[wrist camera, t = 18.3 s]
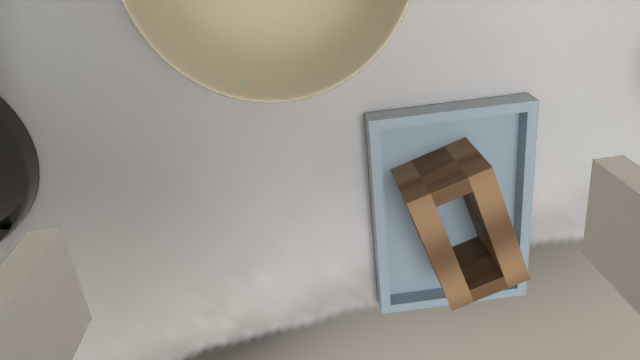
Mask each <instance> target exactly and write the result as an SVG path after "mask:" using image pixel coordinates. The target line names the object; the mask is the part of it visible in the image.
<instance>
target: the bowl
mask: <svg viewBox="0 0 640 360" xmlns="http://www.w3.org/2000/svg"><path fill="white" fill-rule="evenodd" d="M121 1H122V3H123V5H124V7H125V9H126V11H127V13H128V15H129V17H130V19H131V20H132V22H133V24H134V25H135V27H136V29H137V30H138V31H139V33H140V34H141V35H142V37H143V38H144V39H145V40H146V42H147V43H148V44H149V46H150V47H151V48H152V49H153V50H154V51H155V52H156V53H157V54H158V55H159V56H160V57H161V58H162V59H163V60H164V61H165V62H166V63H167V64H169V65H170V66H171V67H172V68H173V69H175V70H176V71H177V72H179V73H180V74H182V75H183V76H185V77H186V78H188V79H189V80H191V81H193V82H194V83H196V84H198V85H200V86H202V87H204V88H206V89H208V90H210V91H213V92H215V93H218V94H221V95H223V96H227V97H231V98H235V99H239V100H243V101H249V102H258V103H278V102H289V101H295V100H300V99H305V98H309V97H312V96H315V95H318V94H321V93H324V92H326V91H328V90H330V89H333V88H335V87H337V86H338V85H340V84H342V83H344V82H345V81H347V80H349V79H350V78H352V77H353V76H354V75H356V74H357V73H358V72H360V71H361V70H362V69H363V68H365V67H366V66H367V65H368V64H369V63H370V62H371V61H372V60H373V59H374V58H375V57H376V56H377V55H378V54H379V53H380V52H381V51H382V49H383V48H384V47H385V46H386V44H387V43H388V42H389V40H390V39H391V38H392V36H393V35H394V33H395V32H396V30H397V28H398V27H399V25H400V23H401V22H402V20H403V18H404V15H405V13H406V11H407V9H408V7H409V4H410V1H411V0H121Z"/></svg>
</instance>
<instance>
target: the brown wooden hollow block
mask: <svg viewBox="0 0 640 360" xmlns="http://www.w3.org/2000/svg"><path fill="white" fill-rule="evenodd" d="M390 170H391V172H392V175H393V177H394V179H395V182H396V184H397V186H398V189H399V191H400V193H401V195H402V198H403V200H404V202H405V205H406V207H407V209H408V212H409V214H410V216H411V219H412V221H413V223H414V226H415V228H416V230H417V233H418V235H419V237H420V240H421V242H422V244H423V247H424V249H425V251H426V254H427V256H428V258H429V261H430V263H431V265H432V268H433V270H434V272H435V274H436V276H437V278H438V281H439V283H440V285H441V287H442V289H443V291H444V294H445V296H446V298H447V300H448V302H449V304H450V307H451V309H452V310H455V309H457V308H460V307H462V306H465V305H467V304H470V303H472V302H475V301H477V300H480V299H482V298H485V297H487V296H490V295H492V294H495V293H497V292H500V291H502V290H505V289H507V288H510V287H512V286H515V285H517V284H520V283H522V282H525V281H527V280H530V276H529V273H528V270H527V267H526V264H525V261H524V258H523V255H522V252H521V250H520V247H519V244H518V241H517V238H516V235H515V232H514V229H513V226H512V223H511V220H510V217H509V214H508V211H507V208H506V205H505V202H504V199H503V196H502V193H501V190H500V187H499V184H498V181H497V178H496V175H495V172H494V169H493V167H492V166H491V165H490V164H489V162H488V161H487V160H486V159H485V158H484V157H483V156H482V155H481V154H480V152H479V151H478V150H477V149H476V148H475V147H474V146H473V145H472V144H471V142H470V141H469V140H468V139H467V138H466V137H464V138H462V139H459V140H457V141H455V142H452V143H450V144H448V145H446V146H443V147H441V148H439V149H436V150H434V151H432V152H429V153H427V154H425V155H422V156H420V157H418V158H416V159H413V160H411V161H409V162H406V163H404V164H402V165H399V166H397V167H395V168H392V169H390ZM462 196H463V198H464V201H465V203H466V206H467V209H468V211H469V214H470V217H471V219H472V222H473V225H474V227H475V230H476V233H477V235H478V236H477V237H475V238H472V239H470V240H468V241H465V242H463V243H460V244H458V245H455V246H453V247H452V246H451V243H450V241H449V238H448V236H447V233H446V231H445V228H444V226H443V223H442V221H441V218H440V216H439V213H438V211H437V209H436V207H438V206H440V205H443V204H445V203H447V202H450V201H452V200H454V199H457V198H459V197H462Z"/></svg>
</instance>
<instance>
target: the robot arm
mask: <svg viewBox="0 0 640 360" xmlns="http://www.w3.org/2000/svg"><path fill="white" fill-rule="evenodd" d="M38 183H39V166H38V160H37V155H36V152H35V148H34V145H33V143H32V140H31V138H30V136H29V134H28V132H27V130H26V129H25V127H24V125H23V124H22V122H21V121H20V119H19V118H18V117H17V115H16V114H15V113H14V112H13V110H12V109H11V108H10V107H9V106H8V105H7V104H6V103H5V102H4V101H3V100H2V99H1V98H0V242H1V241H3V240H4V239H5V238H6V237H7V236H8V235H9V234H10V233H11V232H12V231H13V230H14V229H15V228H16V227H17V226H18V224H19V223H20V222H21V221H22V220H23V218H24V217H25V216H26V215H27V213H28V212H29V210H30V208H31V207H32V205H33V202H34V200H35V197H36V194H37V190H38ZM582 254H583V255H584V256H585V257H586V258H587V259H588V260H589V261H590V262H591V264H592V265H593V266H594V267H595V268H596V269H597V270H598V271H599V272H600V273H601V274H602V275H603V276H604V277H605V279H606V280H607V281H608V282H609V283H610V284H611V285H612V286H613V287H614V288H615V289H616V290H617V291H618V292H619V293H620V294H621V296H622V297H623V298H624V299H625V300H626V301H627V302H628V303H629V304H630V305H631V306H632V307H633V309H634V310H635V311H636V312H637V313H638V314H639V315H640V166H638V165H637V164H635V163H634V162H632V161H631V160H629V159H628V158H626V157H625V156H623V155H622V156H614V157H607V158H599V159H593V162H592V171H591V179H590V188H589V197H588V206H587V214H586V223H585V232H584V240H583V249H582ZM90 320H91V315H90V312H89V309H88V307H87V304H86V301H85V298H84V295H83V292H82V289H81V286H80V284H79V281H78V278H77V275H76V272H75V269H74V266H73V264H72V261H71V258H70V255H69V252H68V249H67V246H66V244H65V241H64V238H63V235H62V232H61V229H60V227H55V228H48V229H40V230H32V231H27V233H26V234H25V235H24V236H23V238H22V239H21V240H20V241H19V243H18V244H17V245H16V246H15V248H14V249H13V250H12V251H11V253H10V254H9V255H8V256H7V258H6V259H5V260H4V261H3V263H2V264H1V265H0V360H72V359H73V357H74V355H75V352H76V350H77V348H78V346H79V344H80V342H81V339H82V337H83V335H84V333H85V331H86V328H87V326H88V324H89V322H90Z"/></svg>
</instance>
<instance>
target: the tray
mask: <svg viewBox="0 0 640 360" xmlns="http://www.w3.org/2000/svg"><path fill="white" fill-rule="evenodd" d="M538 108H539V100H538V99H536V98H535V97H533V96H532V95H530V94H529V93H523V94H514V95H506V96H498V97H490V98H482V99H474V100H466V101H458V102H450V103H442V104H434V105H425V106H417V107H409V108H401V109H393V110H385V111H377V112H369V113H365V126H366V140H367V154H368V167H369V181H370V195H371V209H372V223H373V236H374V250H375V264H376V278H377V292H378V301H379V305H380V308H381V312H382V314H385V313H393V312H400V311H408V310H414V309H423V308H429V307H437V306H445V305H450V304H449V302H448V300H447V298H446V296H445V294H444V291H443V289H442V287H441V285H440V283H439V281H438V278H437V276H436V274H435V272H434V270H433V268H432V265H431V263H430V261H429V258H428V256H427V254H426V251H425V249H424V247H423V244H422V242H421V240H420V237H419V235H418V233H417V230H416V228H415V226H414V223H413V221H412V219H411V216H410V214H409V212H408V209H407V207H406V205H405V202H404V200H403V198H402V195H401V193H400V191H399V189H398V186H397V184H396V182H395V179H394V177H393V175H392V172H391V170H390V169H392V168H395V167H397V166H399V165H402V164H404V163H406V162H409V161H411V160H413V159H416V158H418V157H420V156H422V155H425V154H427V153H429V152H432V151H434V150H436V149H439V148H441V147H443V146H446V145H448V144H450V143H452V142H455V141H457V140H459V139H462V138H464V137H466V138H467V139H468V140H469V141H470V142H471V144H472V145H473V146H474V147H475V148H476V149H477V150H478V151H479V152H480V154H481V155H482V156H483V157H484V158H485V159H486V160H487V161H488V162H489V164H490V165H491V166H492V167H493V169H494V172H495V175H496V178H497V181H498V184H499V187H500V190H501V193H502V196H503V199H504V202H505V205H506V208H507V211H508V214H509V217H510V220H511V223H512V226H513V229H514V232H515V235H516V238H517V241H518V244H519V247H520V250H521V252H522V255H523V258H524V261H525V264H526V267H527V270H528V257H529V243H530V228H531V213H532V198H533V183H534V168H535V153H536V138H537V123H538ZM436 209H437V211H438V213H439V216H440V218H441V221H442V223H443V226H444V228H445V231H446V233H447V236H448V238H449V241H450V243H451V246H452V247H453V246H455V245H458V244H460V243H463V242H465V241H468V240H470V239H472V238H475V237H477V236H478V235H477V233H476V230H475V227H474V225H473V222H472V219H471V217H470V214H469V211H468V209H467V206H466V203H465V201H464V198H463V196H462V197H459V198H457V199H454V200H452V201H450V202H447V203H445V204H443V205H440V206H438V207H436ZM526 288H527V281H525V282H522V283H520V284H517V285H515V286H512V287H510V288H507V289H505V290H502V291H500V292H497V293H495V294H492V295H490V296H487V297H485V298H482V299H480V300H477V301H483V300H490V299H498V298H506V297H513V296H521V295H526Z"/></svg>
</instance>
